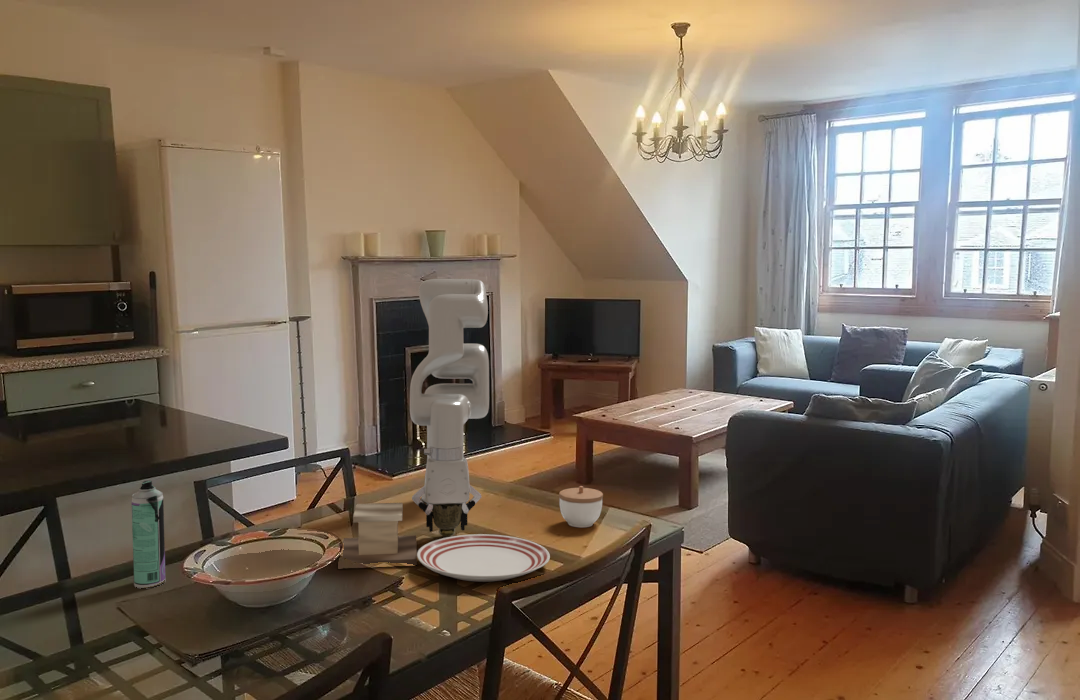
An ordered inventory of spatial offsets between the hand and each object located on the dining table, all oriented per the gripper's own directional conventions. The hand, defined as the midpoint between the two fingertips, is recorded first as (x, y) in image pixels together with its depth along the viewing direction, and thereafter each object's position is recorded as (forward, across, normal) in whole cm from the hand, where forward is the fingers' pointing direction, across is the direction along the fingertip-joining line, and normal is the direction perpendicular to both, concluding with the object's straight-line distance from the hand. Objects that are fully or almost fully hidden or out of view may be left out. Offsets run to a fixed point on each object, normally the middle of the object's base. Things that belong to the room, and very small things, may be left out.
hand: (446, 528), depth 185 cm
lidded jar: (+2, +33, +6) cm, 34 cm away
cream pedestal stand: (+2, -15, -11) cm, 18 cm away
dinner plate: (+2, +7, -20) cm, 22 cm away
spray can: (+2, -58, -22) cm, 62 cm away
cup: (+2, 0, 0) cm, 2 cm away
